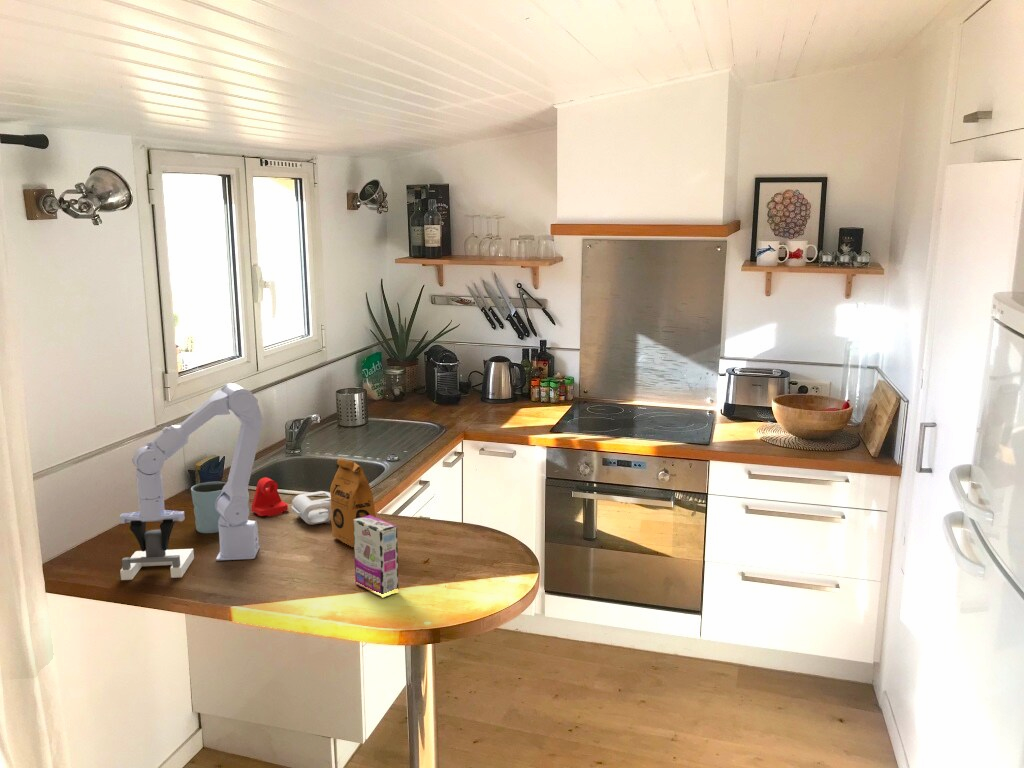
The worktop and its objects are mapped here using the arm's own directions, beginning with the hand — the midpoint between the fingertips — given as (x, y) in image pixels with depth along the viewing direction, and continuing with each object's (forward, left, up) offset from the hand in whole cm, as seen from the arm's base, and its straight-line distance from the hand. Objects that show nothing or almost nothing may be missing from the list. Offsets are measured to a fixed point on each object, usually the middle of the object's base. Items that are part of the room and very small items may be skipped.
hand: (155, 549), depth 207 cm
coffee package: (-47, -15, -6) cm, 50 cm away
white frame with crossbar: (0, -2, -6) cm, 6 cm away
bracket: (-21, -41, -6) cm, 46 cm away
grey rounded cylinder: (0, 0, -2) cm, 2 cm away
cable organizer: (-35, -32, -6) cm, 48 cm away
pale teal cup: (-7, -30, -6) cm, 31 cm away
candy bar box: (-54, +16, -6) cm, 57 cm away
